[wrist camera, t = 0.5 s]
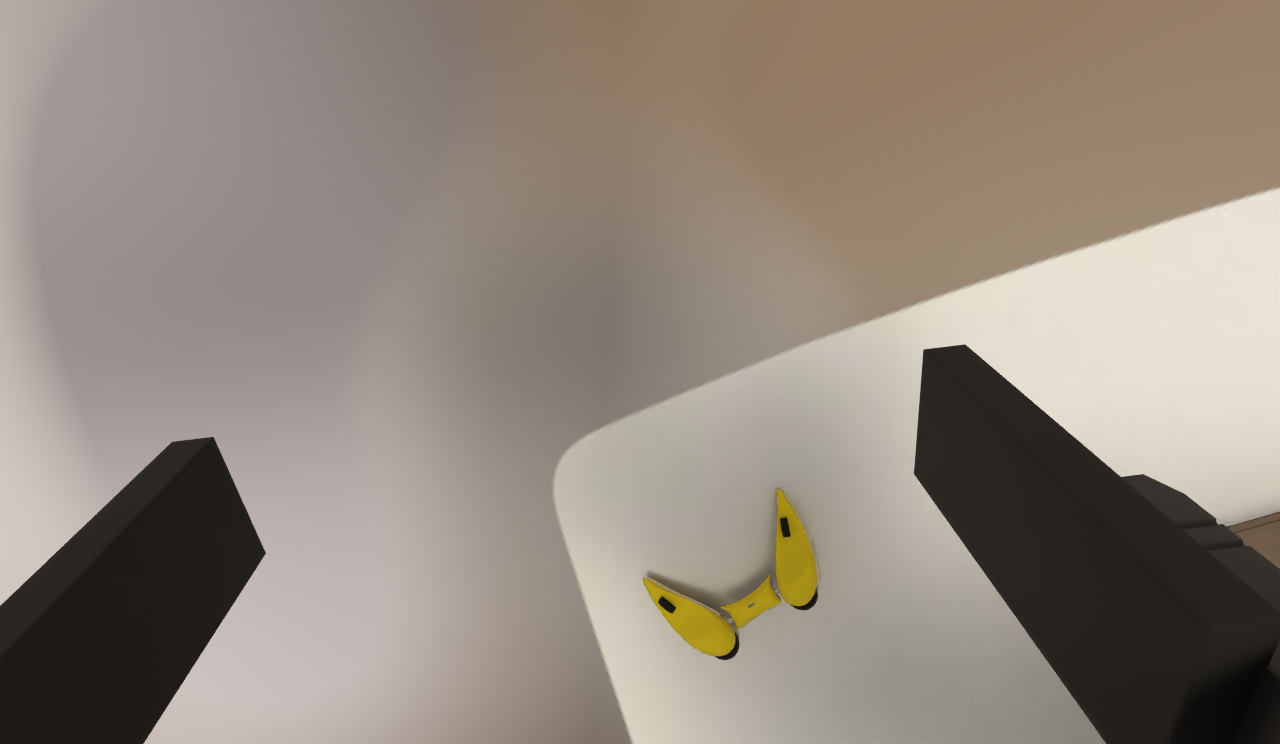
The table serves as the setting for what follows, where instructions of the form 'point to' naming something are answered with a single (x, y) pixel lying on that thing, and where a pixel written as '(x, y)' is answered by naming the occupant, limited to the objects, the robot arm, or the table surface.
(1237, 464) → the table surface
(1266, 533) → the chest
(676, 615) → the yellow curved piece
